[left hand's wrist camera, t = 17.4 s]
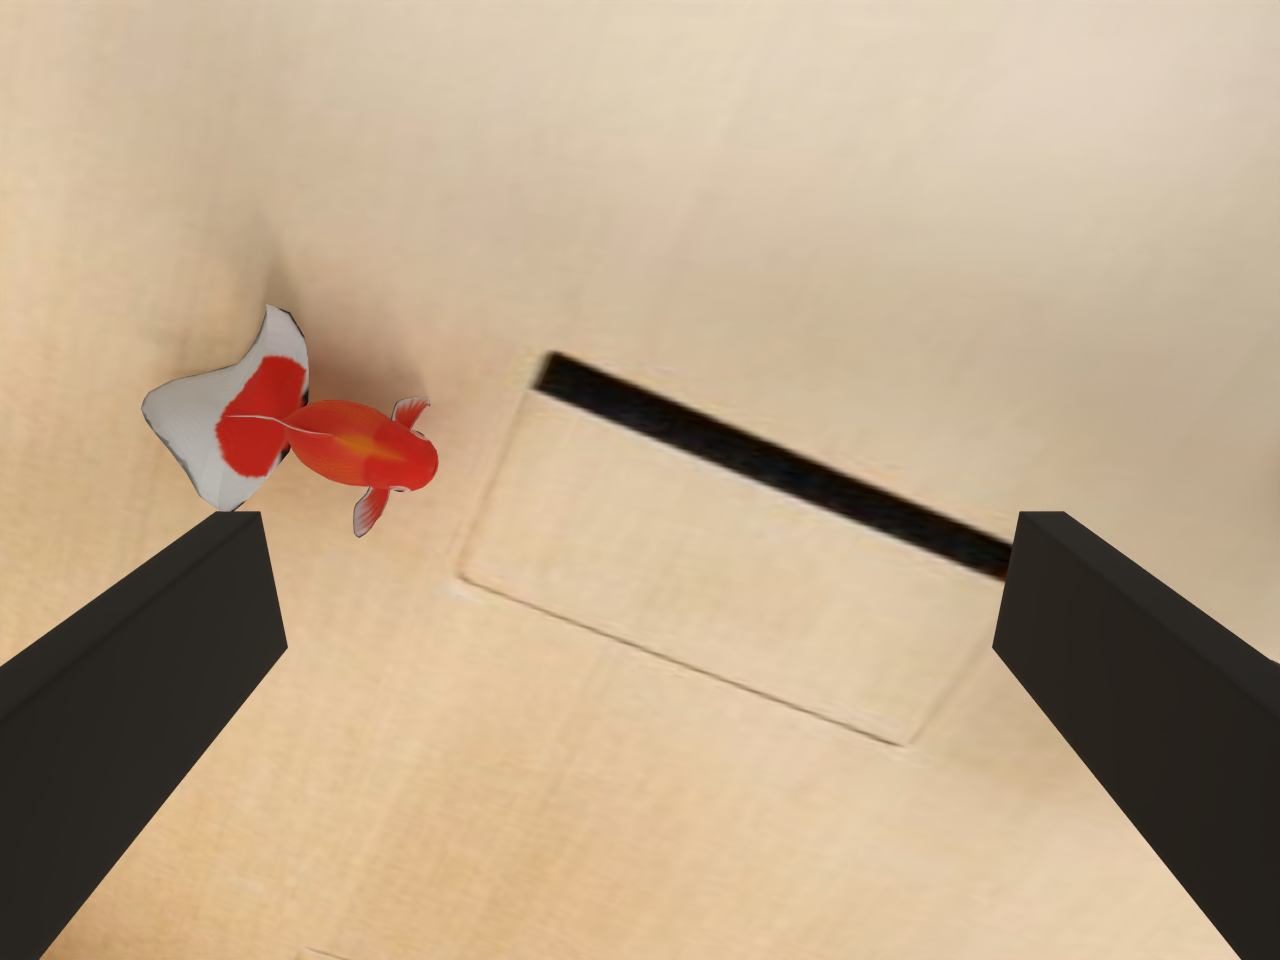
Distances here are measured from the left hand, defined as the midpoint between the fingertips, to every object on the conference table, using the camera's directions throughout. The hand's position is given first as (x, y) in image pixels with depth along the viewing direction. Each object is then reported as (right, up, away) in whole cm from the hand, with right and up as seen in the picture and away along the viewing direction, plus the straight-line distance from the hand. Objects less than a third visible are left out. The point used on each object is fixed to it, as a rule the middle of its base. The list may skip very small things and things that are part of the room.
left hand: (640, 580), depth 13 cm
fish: (-18, +6, +28) cm, 33 cm away
